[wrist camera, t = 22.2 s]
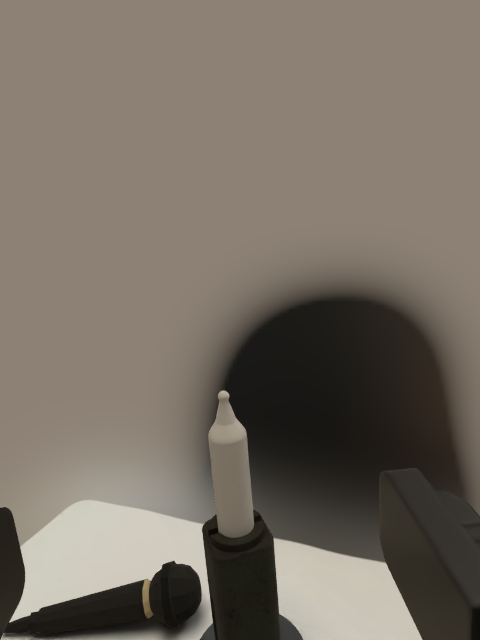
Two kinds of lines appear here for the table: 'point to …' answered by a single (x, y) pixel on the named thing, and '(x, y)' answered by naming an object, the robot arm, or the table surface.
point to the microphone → (122, 604)
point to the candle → (238, 541)
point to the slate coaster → (287, 630)
